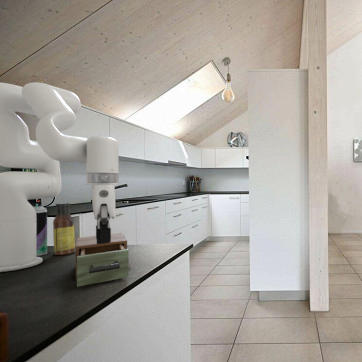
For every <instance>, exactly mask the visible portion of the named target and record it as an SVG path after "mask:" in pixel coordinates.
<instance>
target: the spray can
mask: <svg viewBox="0 0 362 362" xmlns="http://www.w3.org/2000/svg"><path fill="white" fill-rule="evenodd" d="M32 206H33V207H34V209H35V211H36V257H40V256H45V255H47V254H48V208H46V207H44V206H43V205H42V203H41V202H34V203H33V205H32Z"/></svg>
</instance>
